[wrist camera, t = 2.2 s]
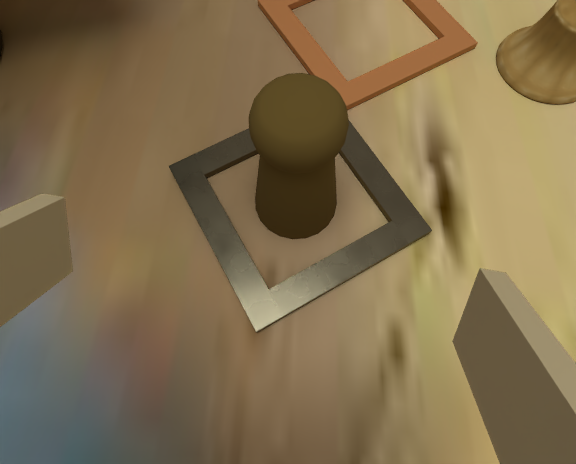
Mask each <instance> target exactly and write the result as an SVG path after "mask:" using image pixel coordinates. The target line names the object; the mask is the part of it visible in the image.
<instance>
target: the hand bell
mask: <svg viewBox="0 0 576 464" xmlns="http://www.w3.org/2000/svg"><path fill="white" fill-rule="evenodd" d="M496 62H497V67H498V70H499V72H500V74H501V76H502V77H503V79H504V80H505V81H506V82H507V83H508V84H509V85H510V86H511V87H512V88H513V89H514V90H516V91H517V92H518V93H520V94H522V95H524V96H525V97H528V98H530V99H532V100H535V101H538V102H542V103H549V104H566V103H571V102H575V101H576V0H557V2H556V3H555V4H554V5H553V6H552V8H551V9H550V10H549V11H548V12H547V13H546V14H545V15H544V16H543V17H542V18H541V19H540V20H539V21H538V22H537V23H535V24H534V25H532V26H529V27H525V28H522V29H519V30H517V31H515V32H513V33H512V34H510V35H509V36H507V37H506V38H505V39H504V40H503V41H502V43H501V44H500V45H499V48H498V50H497V55H496Z"/></svg>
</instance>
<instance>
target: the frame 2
mask: <svg viewBox="0 0 576 464" xmlns="http://www.w3.org/2000/svg"><path fill="white" fill-rule="evenodd" d="M348 121H349V120H348ZM339 153H340V155H341V156H342V158H343V159H344V160H345V162H346V163H347V164H348V166H349V167H350V169H351V170H352V171H353V173H354V174H355V176H356V177H357V178H358V180H359V181H360V183H361V184H362V185H363V187H364V188H365V190H366V191H367V192H368V194H369V195H370V196H371V198H372V199H373V201H374V202H375V203H376V205H377V206H378V208H379V209H380V210H381V212H382V213H383V215H384V216H385V217H386V219H387V220H388V221H389V223H387V224H385V225H384V226H382V227H380V228H378V229H376V230H375V231H373V232H371V233H369V234H367V235H366V236H364V237H362V238H360V239H359V240H357V241H355V242H353V243H351V244H350V245H348V246H346V247H344V248H342V249H341V250H339V251H337V252H335V253H333V254H332V255H330V256H328V257H326V258H324V259H323V260H321V261H319V262H317V263H315V264H314V265H312V266H310V267H308V268H306V269H305V270H303V271H301V272H299V273H298V274H296V275H294V276H292V277H290V278H289V279H287V280H285V281H283V282H281V283H280V284H278V285H276V286H274V287H272V288H271V289H268V288H267V286H266V284H265V282H264V280H263V279H262V277H261V275H260V273H259V272H258V270H257V268H256V266H255V264H254V263H253V261H252V259H251V257H250V256H249V254H248V252H247V250H246V248H245V247H244V245H243V243H242V241H241V240H240V238H239V236H238V234H237V232H236V231H235V229H234V227H233V225H232V224H231V222H230V220H229V218H228V216H227V215H226V213H225V211H224V209H223V207H222V206H221V204H220V202H219V200H218V199H217V197H216V195H215V193H214V191H213V190H212V188H211V186H210V184H209V183H208V181H207V179H206V178H208V177H210V176H212V175H214V174H216V173H218V172H221V171H223V170H225V169H227V168H229V167H231V166H233V165H235V164H237V163H239V162H241V161H243V160H245V159H247V158H249V157H251V156H254V155H256V154H258V152H257V150H256V149H255V146H254V144H253V142H252V140H251V137H250V132H249V129H246V130H244V131H242V132H240V133H238V134H236V135H234V136H232V137H229V138H227V139H225V140H223V141H221V142H219V143H217V144H215V145H212V146H210V147H208V148H206V149H204V150H202V151H200V152H198V153H195V154H193V155H191V156H189V157H187V158H185V159H183V160H181V161H178V162H176V163H174V164H172V165H170V166H169V168H170V170H171V172H172V173H173V175H174V177H175V179H176V181H177V183H178V185H179V187H180V189H181V190H182V192H183V194H184V196H185V198H186V200H187V202H188V204H189V206H190V207H191V209H192V211H193V213H194V215H195V217H196V219H197V221H198V223H199V224H200V226H201V228H202V230H203V232H204V234H205V236H206V238H207V240H208V241H209V243H210V245H211V247H212V249H213V251H214V253H215V255H216V257H217V258H218V260H219V262H220V264H221V266H222V268H223V270H224V272H225V274H226V275H227V277H228V279H229V281H230V283H231V285H232V287H233V289H234V291H235V292H236V294H237V296H238V298H239V300H240V302H241V304H242V306H243V308H244V309H245V311H246V313H247V315H248V317H249V319H250V321H251V323H252V325H253V327H254V328H255V330H256V332H259V331H261V330H263V329H264V328H266V327H268V326H270V325H271V324H273V323H275V322H277V321H278V320H280V319H282V318H283V317H285V316H287V315H289V314H290V313H292V312H294V311H296V310H297V309H299V308H301V307H303V306H304V305H306V304H308V303H310V302H311V301H313V300H315V299H316V298H318V297H320V296H322V295H323V294H325V293H327V292H329V291H330V290H332V289H334V288H336V287H337V286H339V285H341V284H343V283H344V282H346V281H348V280H349V279H351V278H353V277H355V276H356V275H358V274H360V273H362V272H363V271H365V270H367V269H369V268H370V267H372V266H374V265H376V264H377V263H379V262H381V261H382V260H384V259H386V258H388V257H389V256H391V255H393V254H395V253H396V252H398V251H400V250H402V249H403V248H405V247H407V246H408V245H410V244H412V243H414V242H415V241H417V240H419V239H421V238H422V237H424V236H426V235H428V234H429V233H430V232H431V231H432V230H431V228H430V227H429V226H428V224H427V223H426V222H425V220H424V219H423V218H422V216H421V215H420V214H419V212H418V211H417V210H416V208H415V207H414V206H413V204H412V203H411V202H410V200H409V199H408V198H407V196H406V195H405V194H404V193H403V191H402V190H401V189H400V187H399V186H398V185H397V183H396V182H395V181H394V179H393V178H392V177H391V175H390V174H389V173H388V171H387V170H386V169H385V167H384V166H383V165H382V163H381V162H380V161H379V159H378V158H377V157H376V156H375V154H374V153H373V152H372V150H371V149H370V148H369V146H368V145H367V144H366V142H365V141H364V140H363V138H362V137H361V136H360V134H359V133H358V132H357V130H356V129H355V128H354V126H353V125H352V124H351V122H350V121H349V127H348V131H347V135H346V140H345V143H344V145H343V147H342V148H341V150H340V151H339Z"/></svg>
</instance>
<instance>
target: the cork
mask: <svg viewBox="0 0 576 464" xmlns="http://www.w3.org/2000/svg"><path fill="white" fill-rule="evenodd" d="M348 127H349V121H348V114H347V108H346V104H345V102H344V100H343V99H342V97H341V95H340V93H339V92H338V91H337V90H336V89H335V88H334V87H333V86H332V85H331V84H330V83H328V82H327V81H326V80H324V79H321V78H319V77H317V76H315V75H310V74H304V73H295V74H287V75H284V76H281V77H278V78H276V79H274V80H273V81H271V82H270V83H268V84H267V85H265V86H264V87H263V89H262V90H261V91H260V92H259V94H258V95H257V96H256V97H255V99H254V101H253V104H252V107H251V110H250V114H249V132H250V137H251V140H252V142H253V144H254V146H255V149H256V150H257V152H258V153H259V155H260V160H259V169H258V178H257V187H256V196H255V202H256V211H257V213H258V216H259V218H260V221H261V222H262V223H263V224H264V225H265V226H266V227H267V228H268V229H269V230H270V231H272V232H274V233H275V234H277V235H279V236H282V237H286V238H290V239H300V238H307V237H310V236H312V235H315V234H318V233H319V232H320V231H321V230H323V229H324V228H325V227H326V226H328V224H329V223H330V221H331V219H332V218H333V216H334V213H335V209H336V204H337V202H336V177H335V157H336V156H337V154H338V153H339V151H340V150H341V148H342V147H343V145H344V143H345V140H346V135H347V131H348Z"/></svg>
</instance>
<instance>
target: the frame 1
mask: <svg viewBox="0 0 576 464" xmlns="http://www.w3.org/2000/svg"><path fill="white" fill-rule="evenodd" d="M311 1H314V0H258V6H259V7H260V9H261V10H262V11H263V13H264V14H265V15H266V17H267V18H268V19H269V21H270V22H271V23H272V25H273V26H274V27H275V29H276V30H277V31H278V33H279V34H280V35H281V37H282V38H283V39H284V41H285V42H286V43H287V45H288V46H289V47H290V49H291V50H292V51H293V53H294V54H295V55H296V57H297V58H298V59H299V61H300V62H301V63H302V65H303V66H304V67H305V69H306V70H307V71H308V73H309V74H310V75H315V76H317V77H319V78H321V79H324V80H326V81H327V82H328V83H330V84H331V85H332V86H333V87H334V88H335V89H336V90H337V91H338V92H339V93H340V95H341V97H342V99H343V100H344V102H345V104H346V108H347V110H348V109H350V108H352V107H355V106H357V105H359V104H361V103H363V102H365V101H367V100H369V99H371V98H373V97H375V96H377V95H379V94H381V93H383V92H385V91H387V90H390V89H392V88H394V87H396V86H398V85H400V84H402V83H404V82H406V81H408V80H410V79H412V78H414V77H416V76H418V75H420V74H423V73H425V72H427V71H429V70H431V69H433V68H435V67H437V66H439V65H441V64H443V63H445V62H447V61H449V60H451V59H453V58H456V57H458V56H460V55H462V54H464V53H466V52H468V51H470V50H472V49H474V48H475V47H476V45H477V43H478V42H477V41H476V40H475V39H474V38H473V37H472V36H471V35H470V34H469V33H468V32H467V31H466V30H465V29H464V28H463V27H462V26H461V25H460V24H459V23H458V22H457V21H456V20H455V19H454V18H453V17H452V16H451V15H450V14H449V13H448V12H447V11H446V10H445V9H444V8H443V7H442V6H441V5H440V4H439V3H438V2H437V1H436V0H403V1H404V2H405V3H406V4H407V5H408V6H409V7H410V8H411V9H412V10H413V11H414V12H415V13H416V14H417V16H418V17H419V18H420V19H421V20H422V21H423V22H424V23H425V24H426V25H427V26H428V27H429V28H430V29H431V30H432V31H433V33H434V34H435V35H436V36H437V37H438V38H439V39H438V40H436V41H434V42H431V43H429V44H427V45H425V46H423V47H421V48H419V49H417V50H414V51H412V52H410V53H408V54H406V55H404V56H402V57H400V58H397V59H395V60H393V61H391V62H389V63H387V64H385V65H383V66H380V67H378V68H376V69H374V70H372V71H370V72H368V73H365V74H363V75H361V76H359V77H357V78H355V79H353V80H351V81H347V80H346V79H345V78H344V76H343V75H342V74H341V73H340V71H339V70H338V69H337V68H336V66H335V65H334V64H333V62H332V61H331V60H330V59H329V57H328V56H327V55H326V54H325V52H324V51H323V50H322V48H321V47H320V46H319V45H318V43H317V42H316V41H315V40H314V38H313V37H312V36H311V35H310V33H309V32H308V31H307V29H306V28H305V27H304V26H303V24H302V23H301V22H300V21H299V19H298V18H297V17H296V16H295V14H294V13H293V12H292V9H295V8H297V7H299V6H302V5H304V4H307V3H309V2H311Z"/></svg>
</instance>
